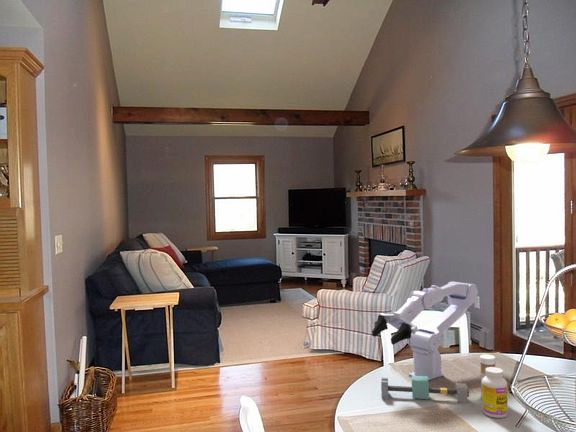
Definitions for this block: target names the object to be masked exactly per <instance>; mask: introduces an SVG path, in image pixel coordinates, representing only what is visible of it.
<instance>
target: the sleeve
mask: <svg viewBox="0 0 576 432" xmlns="http://www.w3.org/2000/svg"><path fill="white" fill-rule="evenodd" d="M429 381H430V380H428V376H411V387H412V392H411V395H412V399H422V400H423V399H424V400H429V399H430V393H429V388H430V382H429Z"/></svg>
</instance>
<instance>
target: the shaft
mask: <svg viewBox="0 0 576 432" xmlns="http://www.w3.org/2000/svg"><path fill="white" fill-rule="evenodd" d="M388 392H400V393H401V392H405V393H412V386H403V385H402V386H399V385H388ZM429 394H438V395H439V394H440V395H456V394H457V390H456V388H447V387H429Z"/></svg>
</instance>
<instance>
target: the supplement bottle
mask: <svg viewBox="0 0 576 432" xmlns="http://www.w3.org/2000/svg"><path fill="white" fill-rule="evenodd" d="M485 373H486V376H485V377H484V378H483V379H482V391H481V396H482V398H481V400H482V403H481V405H482V412H483V414H485V415H486V416H488V417H490V418H495V419H502V418H505V417H507V415H508V409H509V408H508V382H507V380H506V379H505V378H504V377H503V376H504V369H502V368H500V367H496V366H495V367H488V368H486V369H485Z"/></svg>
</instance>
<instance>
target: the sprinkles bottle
mask: <svg viewBox="0 0 576 432" xmlns="http://www.w3.org/2000/svg"><path fill="white" fill-rule="evenodd" d="M479 362H480V390H481V392H482V379H483V378H484V377H485V376H486V373H485V369H486V368H488V367H496V364H497V357H496V356H495V355H492V354H487V353H486V354H481V355H480V356H479ZM481 399H482V395H481Z"/></svg>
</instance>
